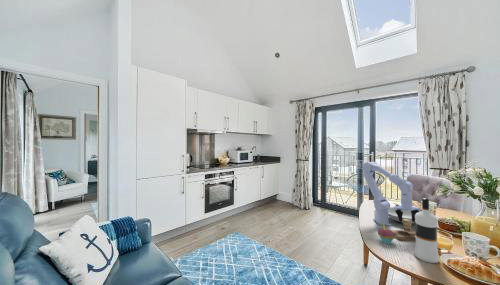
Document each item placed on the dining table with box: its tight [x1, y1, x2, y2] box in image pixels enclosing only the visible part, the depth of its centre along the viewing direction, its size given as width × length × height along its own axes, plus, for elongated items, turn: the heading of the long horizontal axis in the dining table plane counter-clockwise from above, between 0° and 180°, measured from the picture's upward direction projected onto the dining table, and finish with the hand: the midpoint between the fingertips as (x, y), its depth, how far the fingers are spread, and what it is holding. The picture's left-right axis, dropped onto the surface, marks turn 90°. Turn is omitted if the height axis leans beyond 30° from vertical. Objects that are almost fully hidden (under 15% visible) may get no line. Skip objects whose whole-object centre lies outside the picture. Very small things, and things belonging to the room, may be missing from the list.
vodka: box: [413, 197, 440, 264], centre depth 97 cm, size 9×9×30 cm
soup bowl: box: [388, 206, 415, 225], centre depth 142 cm, size 24×24×7 cm
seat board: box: [390, 229, 416, 242], centre depth 118 cm, size 9×18×2 cm, turn 81°
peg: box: [402, 219, 412, 231], centre depth 126 cm, size 4×4×7 cm
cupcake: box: [377, 222, 396, 245], centre depth 113 cm, size 9×8×12 cm
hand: (407, 221), depth 126 cm, fingers open, 7 cm apart
